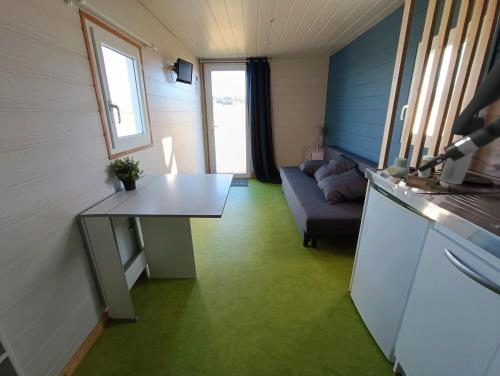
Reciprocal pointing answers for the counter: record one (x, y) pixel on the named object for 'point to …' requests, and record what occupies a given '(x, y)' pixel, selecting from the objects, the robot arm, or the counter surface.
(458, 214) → the counter surface
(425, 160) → the sprinkles bottle
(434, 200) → the counter surface
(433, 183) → the spice socket
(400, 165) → the air freshener
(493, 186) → the counter surface
